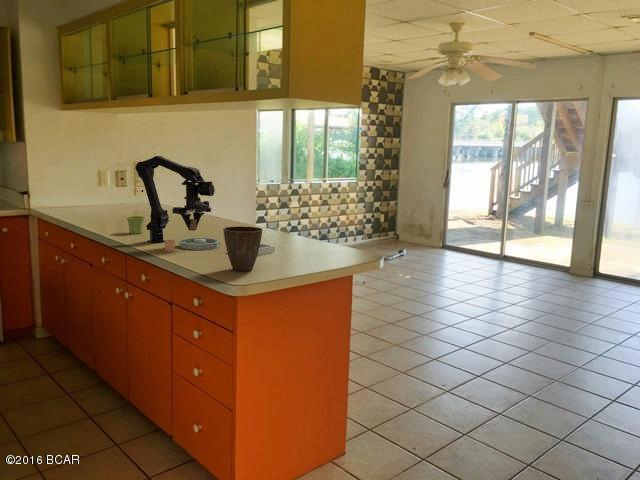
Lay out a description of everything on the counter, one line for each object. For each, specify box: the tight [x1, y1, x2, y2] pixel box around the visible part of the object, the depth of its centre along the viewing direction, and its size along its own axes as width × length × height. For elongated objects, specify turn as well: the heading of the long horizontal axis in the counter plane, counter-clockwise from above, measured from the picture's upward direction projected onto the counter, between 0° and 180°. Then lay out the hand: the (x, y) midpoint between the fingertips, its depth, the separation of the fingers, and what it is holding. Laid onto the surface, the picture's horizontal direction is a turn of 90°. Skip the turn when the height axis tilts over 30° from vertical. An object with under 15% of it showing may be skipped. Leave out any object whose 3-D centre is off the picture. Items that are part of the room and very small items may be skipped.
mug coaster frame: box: [257, 242, 276, 257], centre depth 242 cm, size 14×16×3 cm
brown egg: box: [164, 239, 176, 254], centre depth 237 cm, size 4×4×5 cm
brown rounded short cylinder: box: [187, 218, 198, 232], centre depth 254 cm, size 4×4×5 cm
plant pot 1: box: [125, 215, 145, 235], centre depth 283 cm, size 9×9×9 cm
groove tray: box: [179, 237, 221, 251], centre depth 252 cm, size 18×18×3 cm
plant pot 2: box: [222, 225, 263, 272], centre depth 206 cm, size 15×15×16 cm
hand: (192, 227), depth 255 cm, fingers closed on brown rounded short cylinder, 4 cm apart
